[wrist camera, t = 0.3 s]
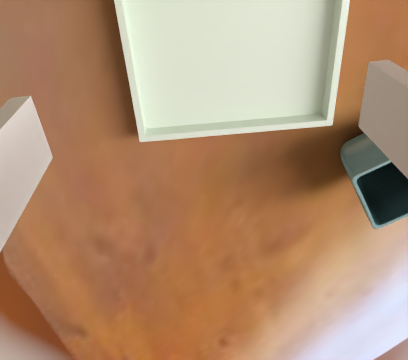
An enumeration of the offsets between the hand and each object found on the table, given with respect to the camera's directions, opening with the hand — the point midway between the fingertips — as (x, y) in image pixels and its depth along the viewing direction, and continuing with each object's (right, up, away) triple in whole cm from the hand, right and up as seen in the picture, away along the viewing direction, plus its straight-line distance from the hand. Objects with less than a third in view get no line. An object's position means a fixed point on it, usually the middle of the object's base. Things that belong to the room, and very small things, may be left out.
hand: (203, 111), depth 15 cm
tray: (+3, +11, +25) cm, 27 cm away
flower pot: (+21, +1, +33) cm, 39 cm away
